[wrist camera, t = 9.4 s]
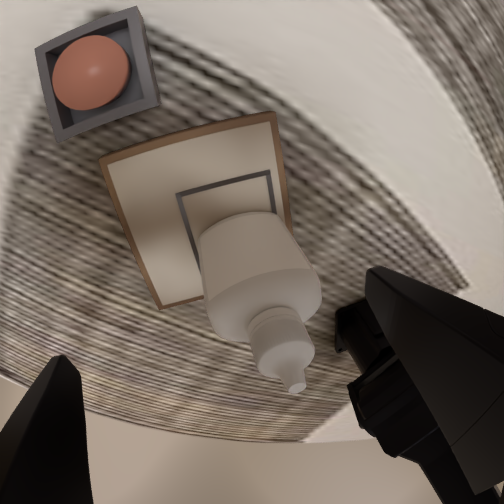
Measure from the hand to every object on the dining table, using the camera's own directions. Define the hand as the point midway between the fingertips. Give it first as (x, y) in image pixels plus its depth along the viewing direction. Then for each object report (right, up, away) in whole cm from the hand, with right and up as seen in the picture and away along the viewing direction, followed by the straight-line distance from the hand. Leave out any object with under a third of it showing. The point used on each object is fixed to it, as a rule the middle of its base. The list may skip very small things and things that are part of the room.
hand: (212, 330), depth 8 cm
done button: (-7, +12, +5) cm, 15 cm away
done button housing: (-8, +13, +7) cm, 16 cm away
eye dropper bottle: (0, +3, +13) cm, 13 cm away
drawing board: (-2, +5, +13) cm, 14 cm away
